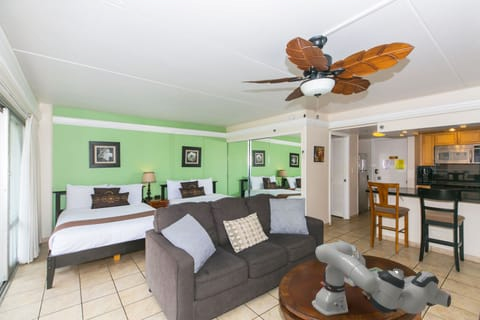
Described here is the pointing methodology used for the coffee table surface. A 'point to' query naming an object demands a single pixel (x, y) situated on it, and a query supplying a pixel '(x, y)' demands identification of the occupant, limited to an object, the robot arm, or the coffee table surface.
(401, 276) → the brushed metal cylinder
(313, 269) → the coffee table surface
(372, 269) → the plate
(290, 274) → the coffee table surface
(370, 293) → the mineral formation
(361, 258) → the gable box
